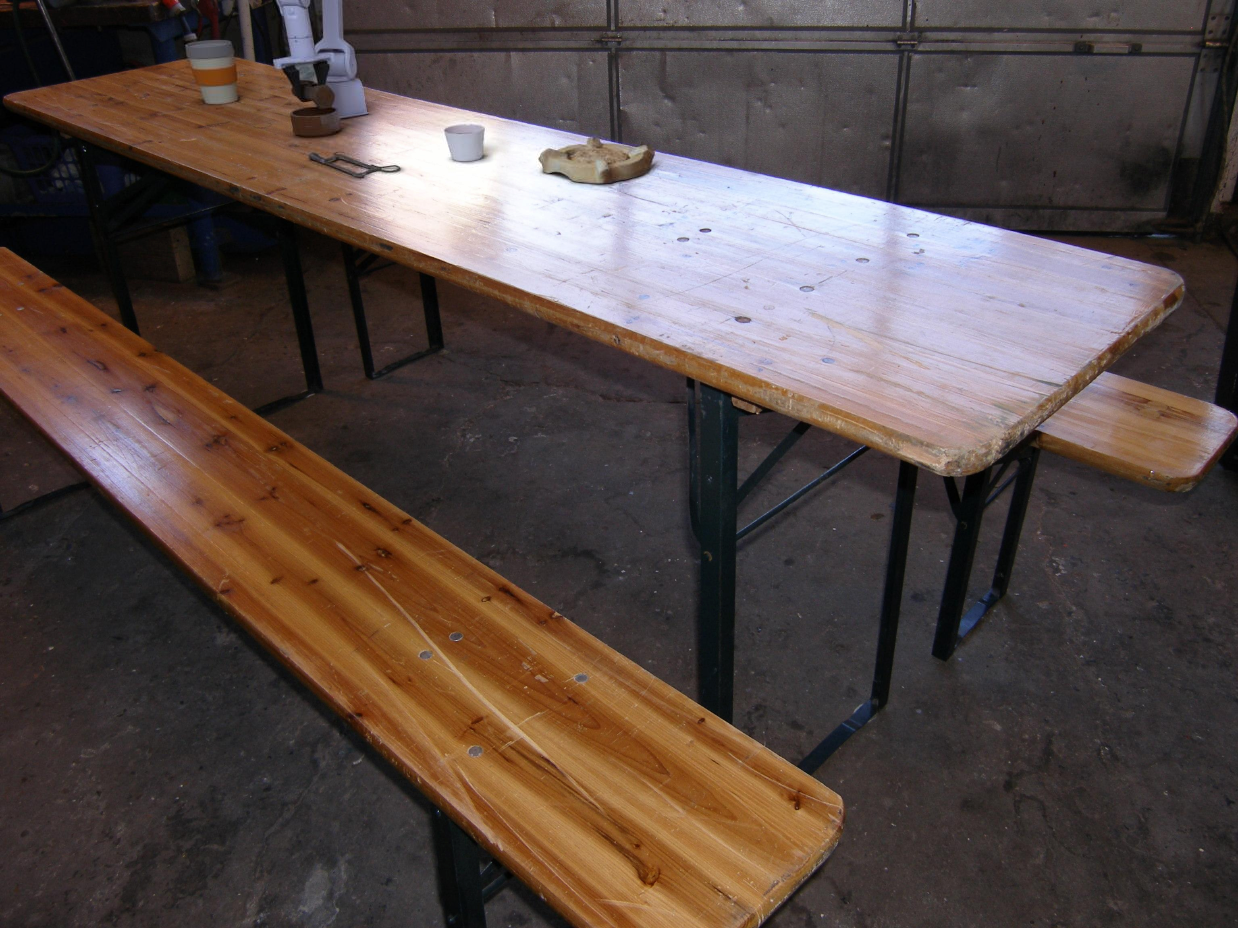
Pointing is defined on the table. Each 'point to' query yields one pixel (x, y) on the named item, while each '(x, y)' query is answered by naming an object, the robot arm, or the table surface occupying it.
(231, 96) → the reusable coffee cup
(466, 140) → the white tapered cup
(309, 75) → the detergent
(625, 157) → the ashtray
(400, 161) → the table surface
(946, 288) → the table surface
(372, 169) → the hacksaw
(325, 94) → the bolt
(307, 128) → the bowl
